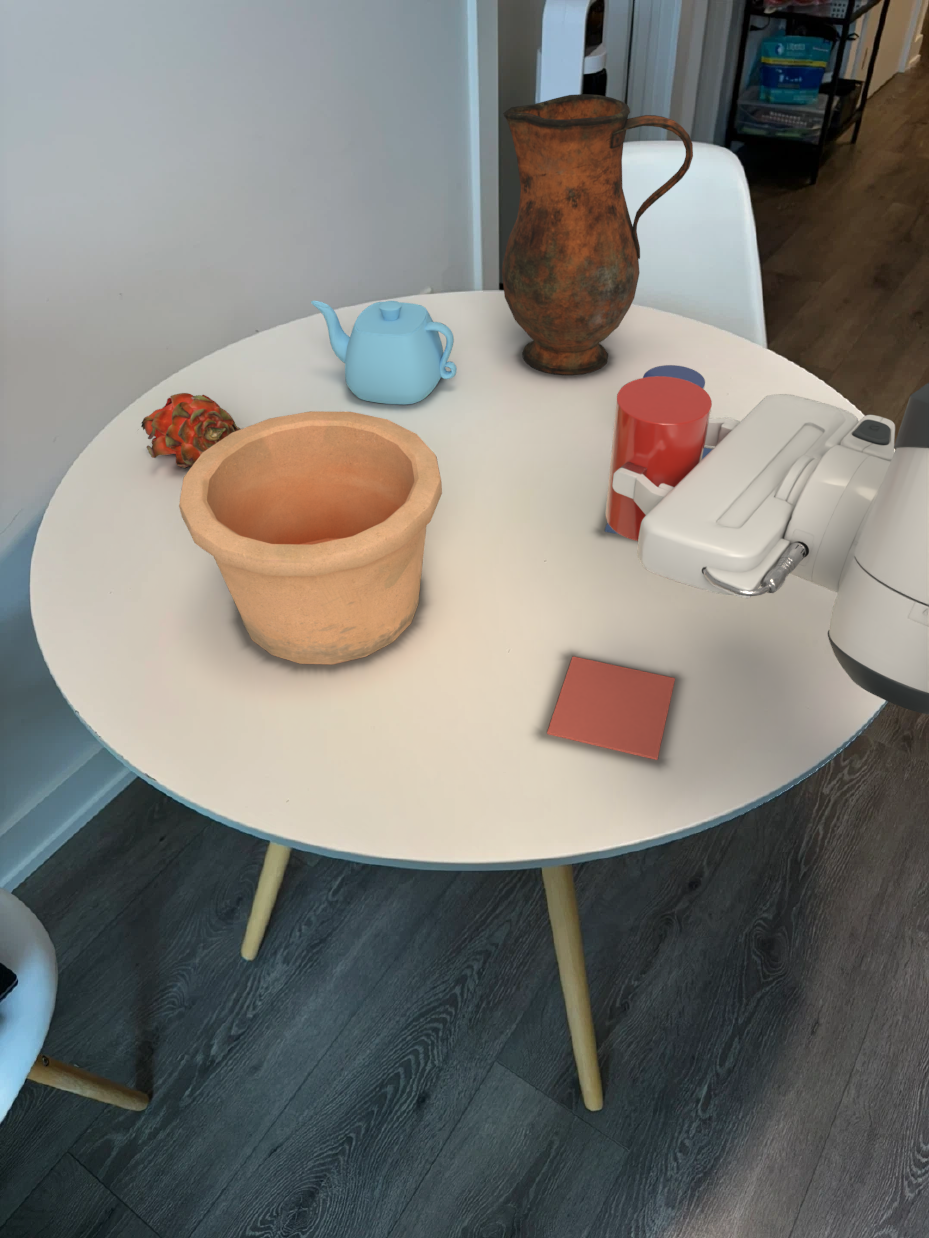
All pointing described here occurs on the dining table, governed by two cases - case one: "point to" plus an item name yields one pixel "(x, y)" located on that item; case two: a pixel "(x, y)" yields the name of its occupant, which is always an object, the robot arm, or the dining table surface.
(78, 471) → the dining table surface
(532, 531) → the dining table surface
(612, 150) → the pitcher
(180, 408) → the dragon fruit
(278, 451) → the pottery
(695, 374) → the blue canister
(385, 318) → the teapot
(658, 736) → the red mat
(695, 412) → the red canister
